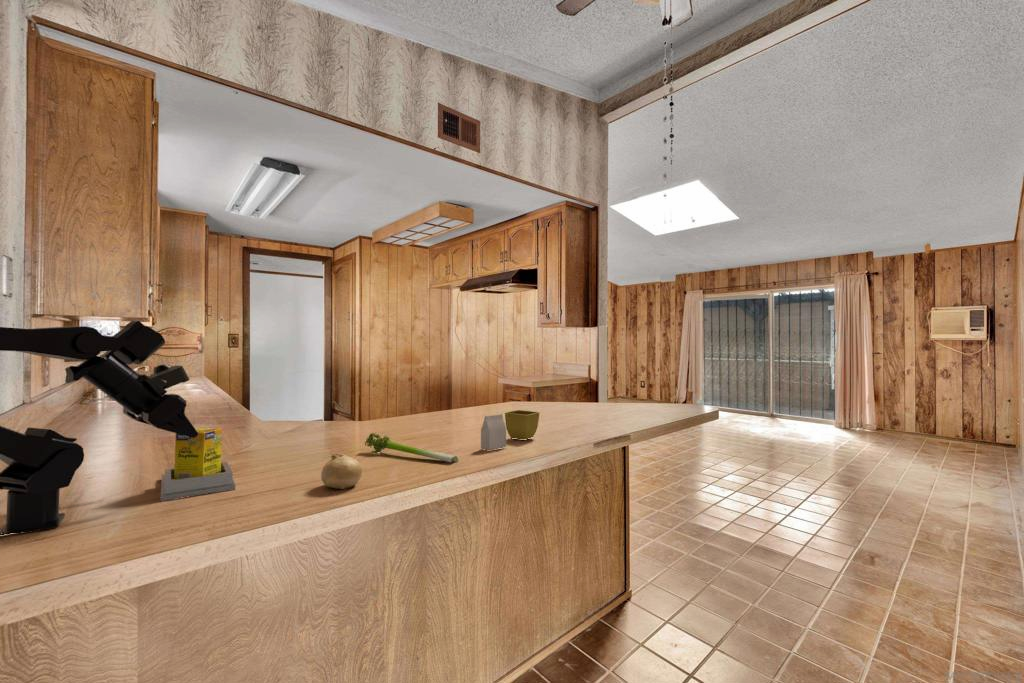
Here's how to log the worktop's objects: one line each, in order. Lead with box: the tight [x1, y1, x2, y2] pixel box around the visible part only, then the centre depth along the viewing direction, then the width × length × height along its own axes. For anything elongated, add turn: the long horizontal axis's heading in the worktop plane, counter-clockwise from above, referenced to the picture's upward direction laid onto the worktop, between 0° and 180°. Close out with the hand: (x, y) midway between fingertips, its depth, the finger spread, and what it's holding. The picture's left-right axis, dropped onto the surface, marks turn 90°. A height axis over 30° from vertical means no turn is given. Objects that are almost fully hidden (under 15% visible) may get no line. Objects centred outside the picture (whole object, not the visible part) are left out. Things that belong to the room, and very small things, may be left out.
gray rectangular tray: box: [160, 461, 236, 502], centre depth 93 cm, size 18×12×4 cm, turn 38°
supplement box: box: [174, 427, 223, 479], centre depth 91 cm, size 6×6×11 cm
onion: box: [320, 452, 363, 490], centre depth 93 cm, size 8×8×7 cm
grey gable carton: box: [480, 413, 507, 451], centre depth 130 cm, size 4×7×10 cm, turn 135°
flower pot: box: [504, 409, 541, 439], centre depth 144 cm, size 9×9×9 cm
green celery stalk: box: [364, 432, 459, 463], centre depth 119 cm, size 6×7×30 cm
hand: (188, 433), depth 90 cm, fingers open, 9 cm apart
